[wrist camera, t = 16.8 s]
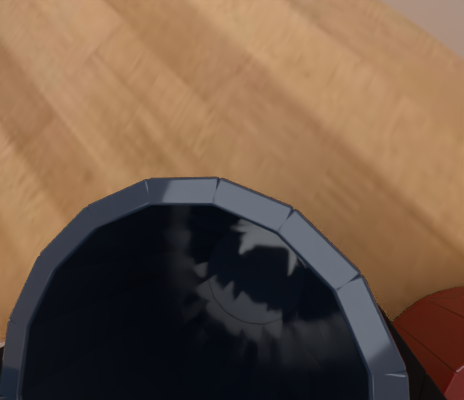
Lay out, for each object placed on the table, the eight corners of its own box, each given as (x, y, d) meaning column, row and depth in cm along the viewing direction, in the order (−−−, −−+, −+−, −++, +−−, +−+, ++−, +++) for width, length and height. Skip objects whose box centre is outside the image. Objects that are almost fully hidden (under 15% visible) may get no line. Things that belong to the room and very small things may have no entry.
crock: (329, 306, 14) (530, 630, 3) (226, 340, 15) (38, 688, 4) (285, 202, 16) (289, 112, 4) (192, 239, 17) (-27, 254, 5)
